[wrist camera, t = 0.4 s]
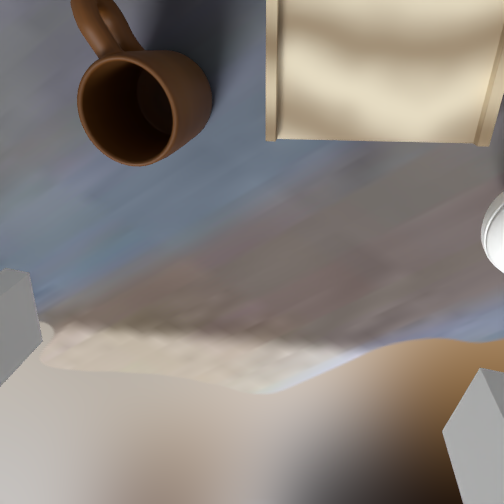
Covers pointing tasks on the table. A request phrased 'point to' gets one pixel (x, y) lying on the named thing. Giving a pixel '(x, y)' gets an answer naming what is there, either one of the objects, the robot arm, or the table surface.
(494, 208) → the spinning top
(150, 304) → the table surface
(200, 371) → the table surface
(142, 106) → the mug
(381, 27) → the beige flat rectangular tray
